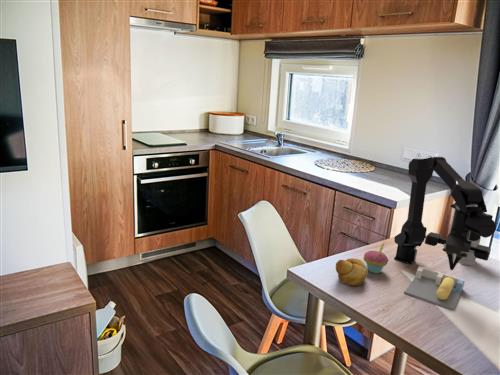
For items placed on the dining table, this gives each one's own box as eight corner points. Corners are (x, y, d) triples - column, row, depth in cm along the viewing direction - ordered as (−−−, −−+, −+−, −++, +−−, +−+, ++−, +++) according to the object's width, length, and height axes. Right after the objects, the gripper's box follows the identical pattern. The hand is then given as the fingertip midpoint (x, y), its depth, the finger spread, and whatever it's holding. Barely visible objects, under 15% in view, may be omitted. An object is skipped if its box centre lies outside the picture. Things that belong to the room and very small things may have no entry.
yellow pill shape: (446, 303, 133) (448, 293, 132) (434, 299, 135) (436, 289, 134) (454, 287, 144) (456, 277, 143) (443, 283, 146) (444, 274, 145)
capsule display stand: (404, 293, 138) (405, 283, 137) (417, 275, 152) (419, 265, 151) (453, 310, 130) (455, 300, 129) (462, 289, 144) (465, 280, 143)
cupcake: (390, 270, 153) (395, 240, 150) (379, 278, 147) (384, 246, 144) (368, 262, 159) (373, 232, 156) (357, 269, 153) (362, 238, 149)
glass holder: (479, 261, 168) (488, 226, 163) (465, 271, 158) (474, 233, 154) (456, 253, 174) (464, 219, 169) (442, 262, 164) (450, 226, 160)
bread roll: (346, 268, 153) (350, 248, 150) (372, 277, 147) (376, 256, 145) (331, 281, 143) (334, 259, 140) (358, 291, 137) (362, 269, 135)
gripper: (425, 223, 134) (416, 268, 138) (491, 240, 124) (479, 288, 128) (433, 215, 142) (424, 257, 147) (495, 230, 132) (484, 275, 137)
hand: (451, 269), depth 139 cm, fingers closed
